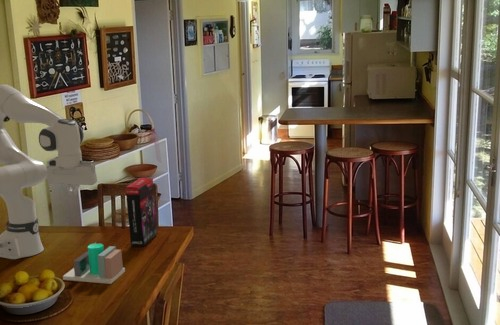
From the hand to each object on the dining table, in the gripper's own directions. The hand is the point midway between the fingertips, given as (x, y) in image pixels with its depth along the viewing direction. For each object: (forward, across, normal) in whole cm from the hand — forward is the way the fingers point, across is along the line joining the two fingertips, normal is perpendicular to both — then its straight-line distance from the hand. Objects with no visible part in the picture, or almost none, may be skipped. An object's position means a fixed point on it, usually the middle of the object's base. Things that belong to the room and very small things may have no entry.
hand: (73, 194), depth 238 cm
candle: (+28, -13, +9) cm, 32 cm away
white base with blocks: (+29, -12, +10) cm, 33 cm away
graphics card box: (+29, -15, -30) cm, 45 cm away
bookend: (+28, -8, +10) cm, 30 cm away
